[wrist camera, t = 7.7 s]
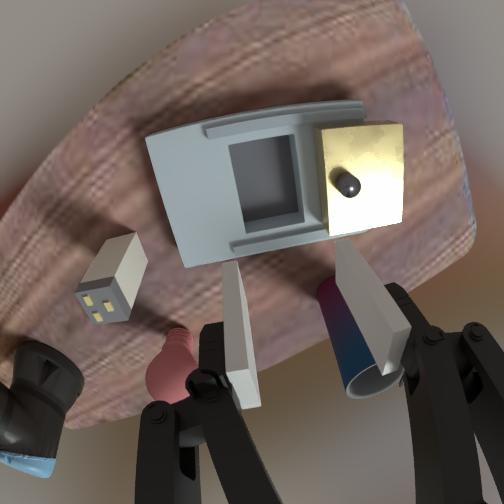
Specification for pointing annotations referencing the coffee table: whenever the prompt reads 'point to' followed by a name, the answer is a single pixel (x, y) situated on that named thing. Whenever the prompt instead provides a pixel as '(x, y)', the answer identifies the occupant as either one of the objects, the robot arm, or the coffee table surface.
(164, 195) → the socket board
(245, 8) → the coffee table surface
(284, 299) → the coffee table surface
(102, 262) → the plug
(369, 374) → the cup
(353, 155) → the panel
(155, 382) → the light bulb
